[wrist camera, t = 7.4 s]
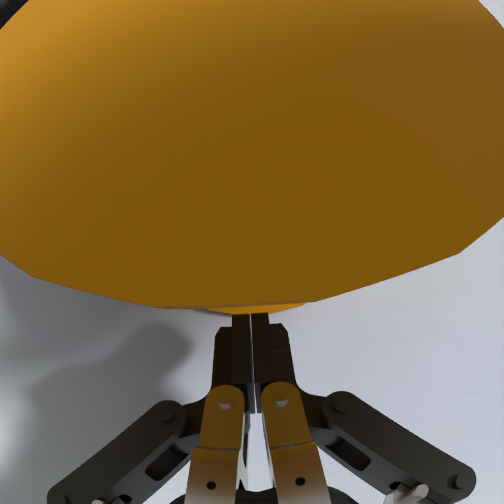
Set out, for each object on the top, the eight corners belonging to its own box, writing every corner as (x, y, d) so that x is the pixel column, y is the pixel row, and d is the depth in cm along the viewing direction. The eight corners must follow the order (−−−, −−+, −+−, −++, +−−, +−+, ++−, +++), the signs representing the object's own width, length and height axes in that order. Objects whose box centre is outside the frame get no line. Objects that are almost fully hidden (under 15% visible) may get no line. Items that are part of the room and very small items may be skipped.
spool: (414, 160, 19) (523, 19, 5) (280, 374, 16) (353, 566, 2) (227, 56, 22) (210, -91, 7) (79, 209, 19) (-69, 97, 4)
